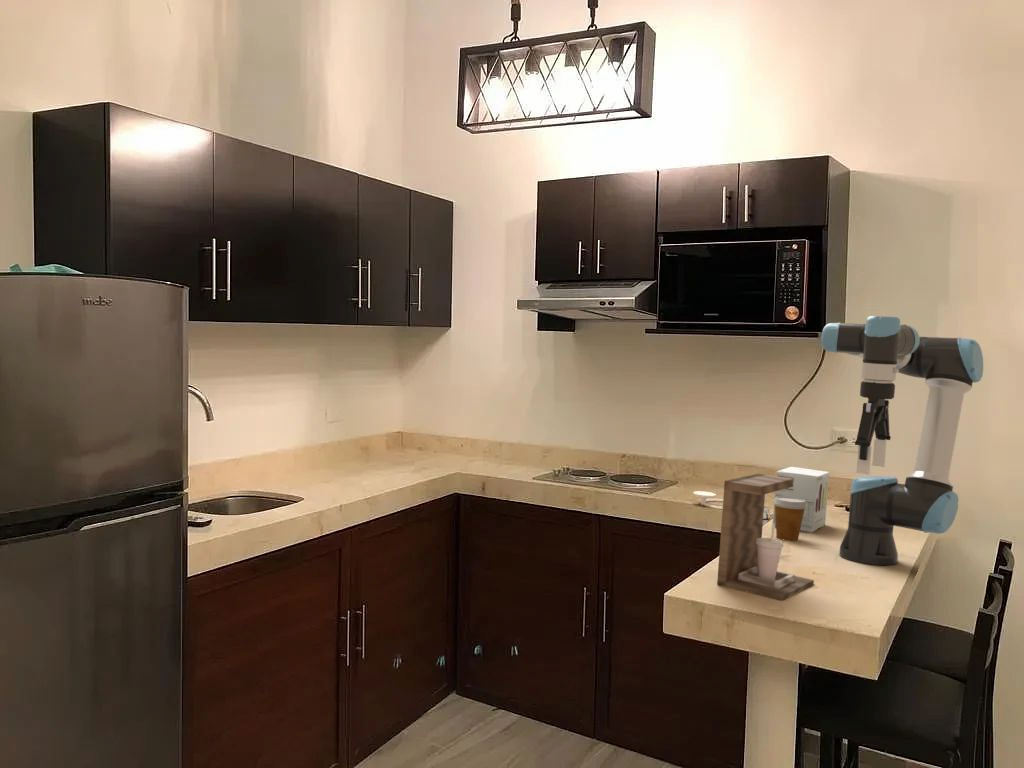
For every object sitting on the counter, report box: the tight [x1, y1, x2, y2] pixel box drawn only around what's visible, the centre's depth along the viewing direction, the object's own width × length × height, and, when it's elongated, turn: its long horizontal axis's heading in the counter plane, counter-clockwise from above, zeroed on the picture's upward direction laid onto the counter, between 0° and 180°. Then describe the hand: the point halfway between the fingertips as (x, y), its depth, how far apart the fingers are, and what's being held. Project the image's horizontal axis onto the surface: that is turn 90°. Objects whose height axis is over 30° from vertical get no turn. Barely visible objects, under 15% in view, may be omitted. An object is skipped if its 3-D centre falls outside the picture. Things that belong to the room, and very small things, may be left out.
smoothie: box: [756, 522, 784, 580], centre depth 210 cm, size 6×6×14 cm
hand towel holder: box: [693, 490, 723, 511], centre depth 313 cm, size 17×4×21 cm
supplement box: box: [772, 466, 831, 533], centre depth 284 cm, size 17×13×18 cm
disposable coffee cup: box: [773, 497, 806, 542], centre depth 263 cm, size 10×10×12 cm
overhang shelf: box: [716, 473, 815, 601], centre depth 210 cm, size 20×16×25 cm
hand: (870, 469), depth 208 cm, fingers open, 13 cm apart
